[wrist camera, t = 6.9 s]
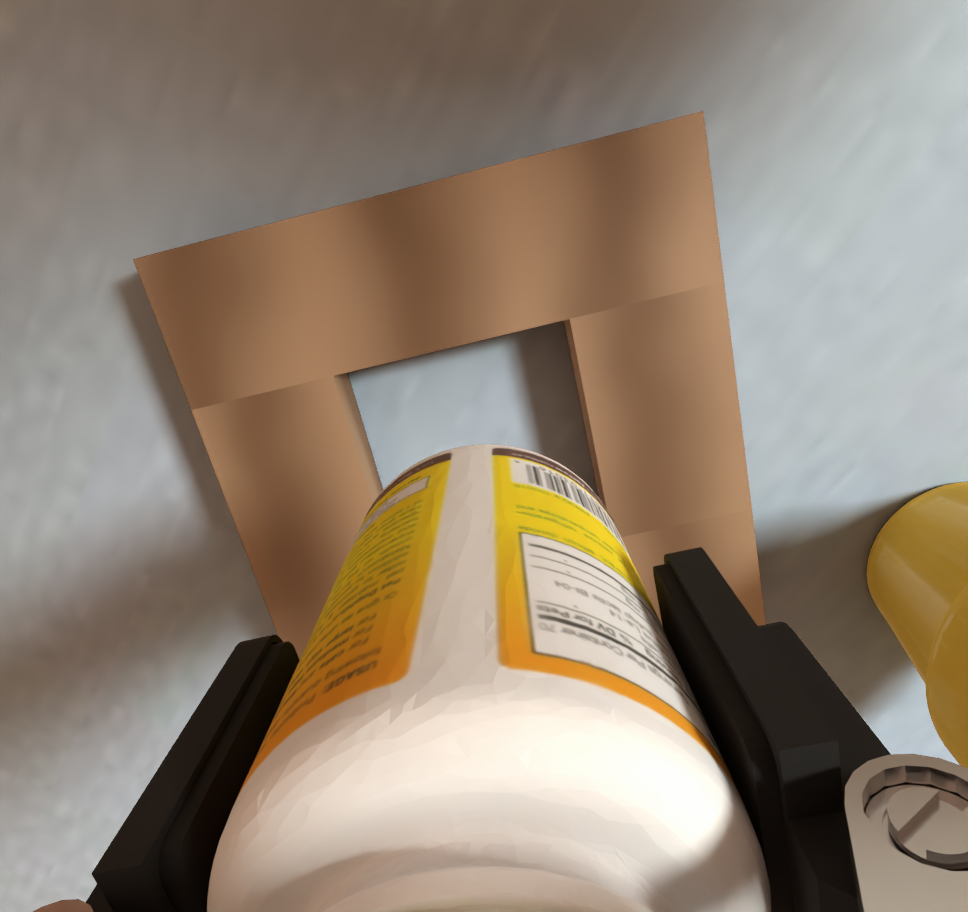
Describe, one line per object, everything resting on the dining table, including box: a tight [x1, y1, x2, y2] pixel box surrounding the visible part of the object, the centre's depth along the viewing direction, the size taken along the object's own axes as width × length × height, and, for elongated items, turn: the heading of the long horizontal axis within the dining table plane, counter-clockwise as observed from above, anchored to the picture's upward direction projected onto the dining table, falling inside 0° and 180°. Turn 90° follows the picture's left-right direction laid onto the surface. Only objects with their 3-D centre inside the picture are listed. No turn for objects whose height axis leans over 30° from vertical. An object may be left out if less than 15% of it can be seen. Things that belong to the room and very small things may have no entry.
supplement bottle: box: [207, 445, 771, 912], centre depth 9 cm, size 6×6×10 cm
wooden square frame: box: [133, 111, 766, 660], centre depth 23 cm, size 18×18×2 cm
